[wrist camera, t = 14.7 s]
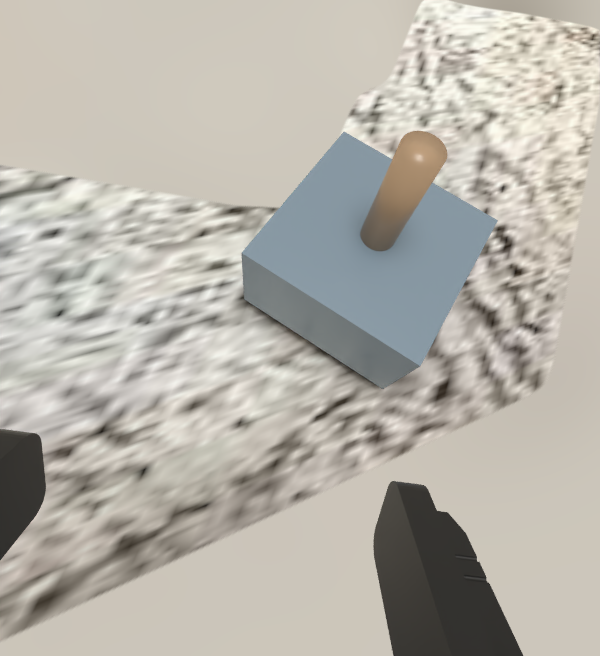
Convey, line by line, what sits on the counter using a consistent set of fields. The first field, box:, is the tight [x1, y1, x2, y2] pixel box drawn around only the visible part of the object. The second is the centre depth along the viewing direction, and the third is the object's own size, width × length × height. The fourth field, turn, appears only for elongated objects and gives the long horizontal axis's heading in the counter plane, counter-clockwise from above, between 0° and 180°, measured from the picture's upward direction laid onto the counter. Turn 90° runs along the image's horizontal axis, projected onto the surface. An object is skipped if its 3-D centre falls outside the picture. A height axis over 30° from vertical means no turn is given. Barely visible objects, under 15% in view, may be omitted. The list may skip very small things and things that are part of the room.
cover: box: [242, 131, 498, 389], centre depth 27 cm, size 14×14×16 cm
